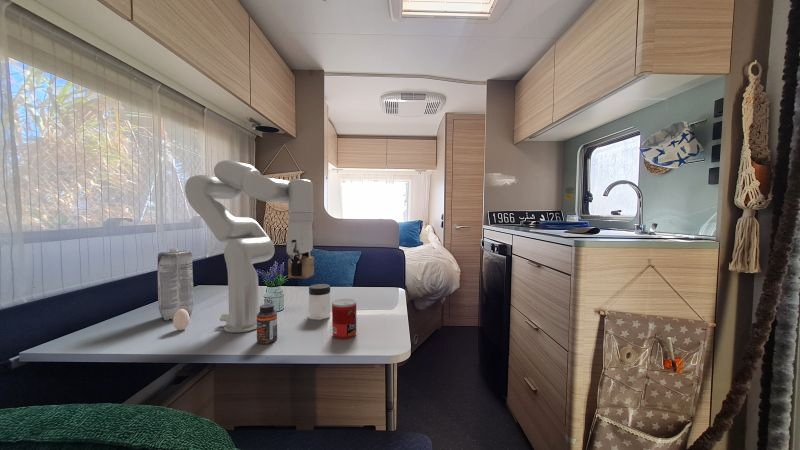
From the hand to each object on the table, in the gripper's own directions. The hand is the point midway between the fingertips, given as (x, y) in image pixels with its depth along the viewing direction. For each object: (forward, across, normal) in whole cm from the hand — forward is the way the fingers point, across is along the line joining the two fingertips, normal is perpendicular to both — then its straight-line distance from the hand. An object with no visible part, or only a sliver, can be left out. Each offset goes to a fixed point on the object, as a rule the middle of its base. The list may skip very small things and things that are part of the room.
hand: (301, 273), depth 97 cm
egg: (+22, -2, -44) cm, 50 cm away
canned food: (+21, -3, +14) cm, 25 cm away
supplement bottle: (+21, +4, -10) cm, 24 cm away
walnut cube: (+1, 0, 0) cm, 1 cm away
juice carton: (+22, -15, -58) cm, 64 cm away
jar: (+21, -20, -2) cm, 29 cm away
